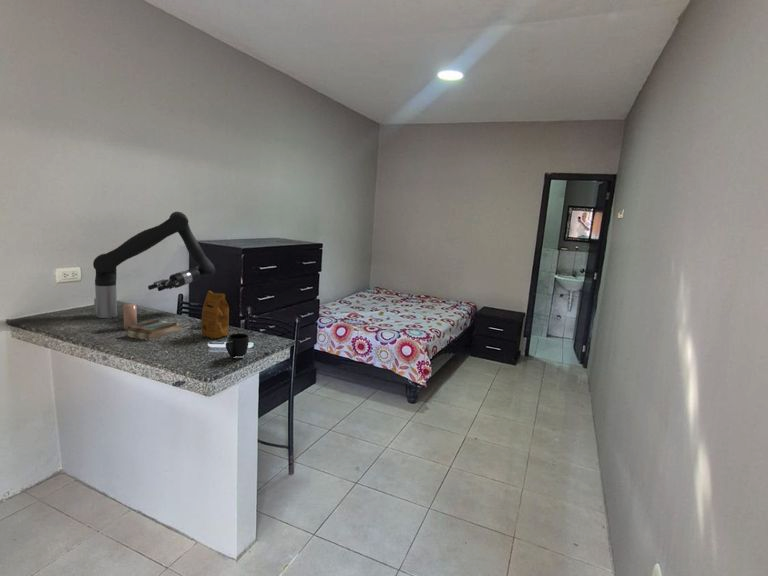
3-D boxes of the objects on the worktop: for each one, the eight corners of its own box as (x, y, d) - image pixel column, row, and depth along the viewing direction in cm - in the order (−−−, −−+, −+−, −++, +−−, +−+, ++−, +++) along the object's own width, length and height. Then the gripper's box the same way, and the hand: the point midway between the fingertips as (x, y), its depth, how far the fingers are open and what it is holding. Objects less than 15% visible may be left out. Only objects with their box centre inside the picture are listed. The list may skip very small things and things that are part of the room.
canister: (121, 328, 203) (120, 305, 201) (130, 326, 208) (130, 303, 206) (130, 330, 202) (129, 306, 200) (139, 327, 207) (139, 304, 205)
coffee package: (214, 330, 213) (215, 288, 209) (231, 336, 207) (232, 292, 203) (197, 334, 204) (197, 291, 201) (214, 340, 199) (215, 295, 195)
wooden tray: (127, 336, 193) (127, 326, 193) (160, 326, 212) (160, 316, 212) (149, 340, 190) (149, 330, 190) (180, 329, 209) (180, 320, 209)
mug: (217, 361, 174) (218, 339, 172) (236, 352, 185) (236, 332, 183) (234, 364, 171) (234, 342, 170) (252, 356, 183) (252, 335, 181)
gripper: (171, 271, 231) (143, 281, 218) (187, 273, 224) (159, 282, 211) (175, 284, 233) (147, 294, 220) (191, 286, 226) (163, 296, 213)
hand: (153, 288), depth 215 cm, fingers open, 8 cm apart
